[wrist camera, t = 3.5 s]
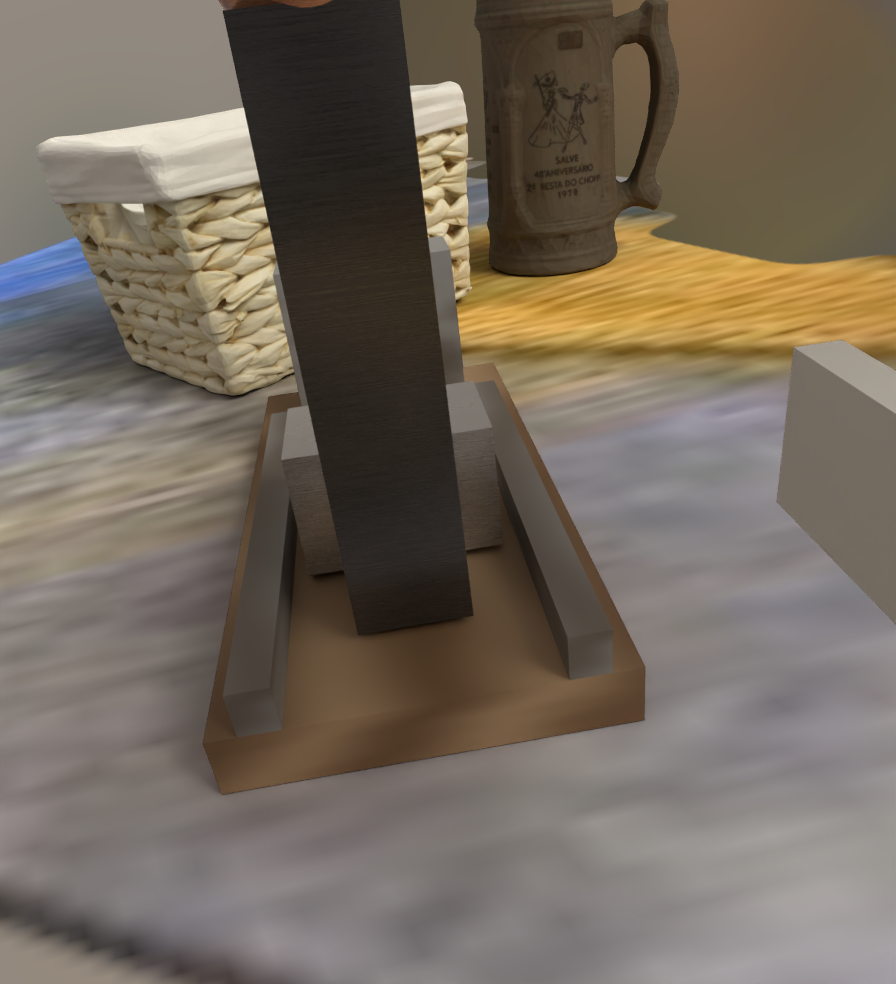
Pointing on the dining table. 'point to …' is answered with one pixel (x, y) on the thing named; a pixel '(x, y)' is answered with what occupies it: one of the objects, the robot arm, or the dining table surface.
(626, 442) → the dining table surface
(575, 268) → the beer stein
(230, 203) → the storage basket
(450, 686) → the base
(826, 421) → the robot arm
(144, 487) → the dining table surface
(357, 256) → the handle
